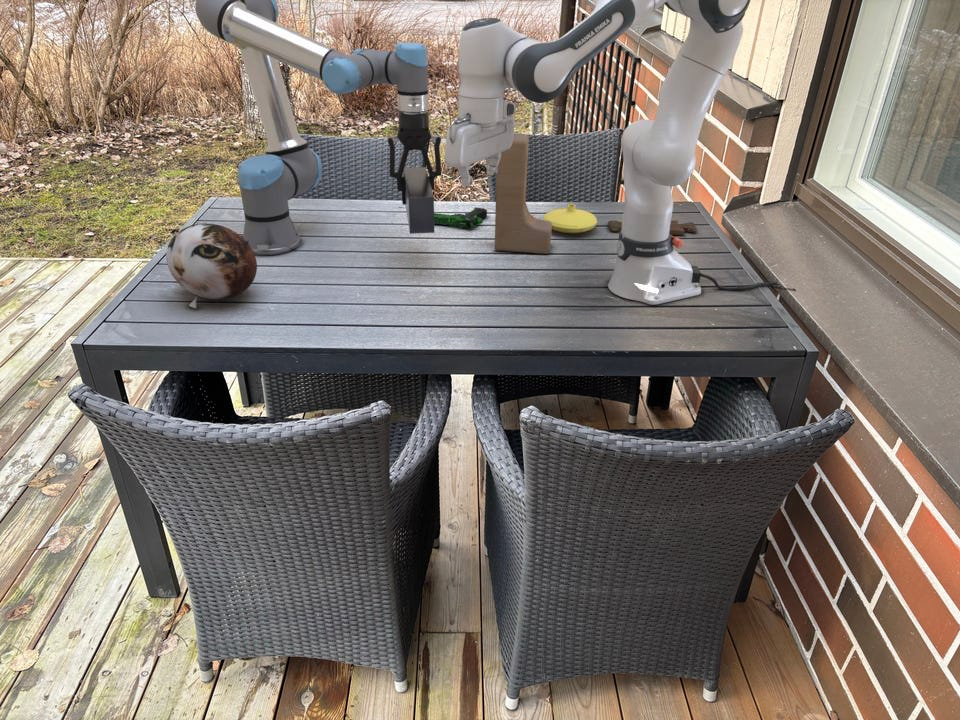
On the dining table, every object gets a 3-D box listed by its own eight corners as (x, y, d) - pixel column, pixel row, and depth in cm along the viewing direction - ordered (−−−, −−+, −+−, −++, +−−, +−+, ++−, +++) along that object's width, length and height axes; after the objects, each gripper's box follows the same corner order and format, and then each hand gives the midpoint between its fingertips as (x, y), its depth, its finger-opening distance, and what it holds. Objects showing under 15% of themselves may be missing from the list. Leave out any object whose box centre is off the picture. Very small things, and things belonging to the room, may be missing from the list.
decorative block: (549, 254, 193) (556, 142, 178) (494, 251, 195) (497, 139, 180) (550, 244, 200) (558, 135, 184) (497, 241, 201) (500, 132, 186)
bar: (404, 200, 191) (403, 167, 187) (426, 200, 192) (425, 167, 187) (409, 233, 170) (408, 197, 166) (434, 232, 171) (433, 196, 166)
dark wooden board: (699, 237, 207) (691, 225, 216) (700, 231, 206) (692, 220, 215) (610, 234, 207) (606, 222, 216) (611, 228, 207) (607, 217, 215)
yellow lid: (559, 216, 220) (561, 193, 217) (605, 227, 212) (608, 204, 209) (532, 230, 209) (533, 207, 206) (580, 242, 201) (582, 218, 198)
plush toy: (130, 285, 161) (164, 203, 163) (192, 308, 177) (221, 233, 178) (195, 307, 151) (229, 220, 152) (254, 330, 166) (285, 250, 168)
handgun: (493, 208, 218) (473, 222, 206) (492, 217, 219) (473, 231, 207) (445, 201, 223) (423, 215, 211) (445, 211, 225) (423, 224, 212)
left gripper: (375, 115, 172) (380, 208, 184) (453, 114, 175) (453, 205, 186) (374, 108, 178) (380, 199, 190) (449, 107, 181) (450, 196, 193)
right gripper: (464, 121, 131) (463, 195, 138) (520, 103, 146) (517, 171, 153) (436, 117, 134) (437, 189, 141) (494, 99, 149) (492, 166, 156)
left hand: (416, 202), depth 188 cm, fingers closed on bar, 6 cm apart
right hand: (479, 179), depth 147 cm, fingers open, 8 cm apart
